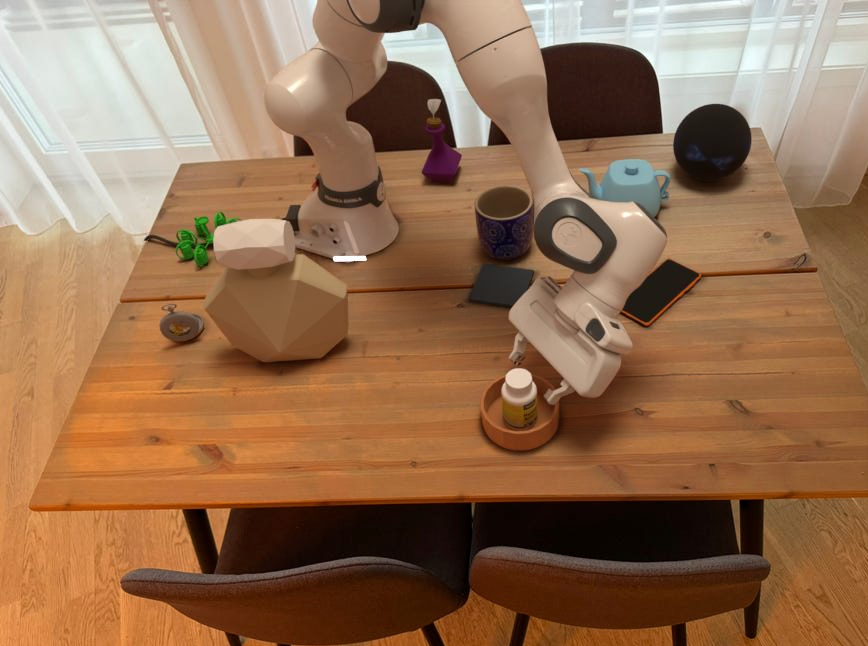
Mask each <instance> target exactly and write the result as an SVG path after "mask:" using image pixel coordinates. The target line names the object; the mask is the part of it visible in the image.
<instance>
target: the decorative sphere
mask: <svg viewBox="0 0 868 646" xmlns="http://www.w3.org/2000/svg"><path fill="white" fill-rule="evenodd" d="M752 140H753V138H752V130H751V126H750V124H749V122H748V120H747V119H746V117H745V116H744V115H743V114H742V113H741V112H740V111H739V110H737V109H736V108H735V107H732V106H730V105H728V104H723V103H708V104H704V105H702V106H699V107H697V108H695V109H693V110H691V111H690V112H689V113H688V114H686V115H685V116H684V118H683V119H682V120H681V121H680V123H679V125H678V126H677V128H676V130H675V133H674V135H673V141H672V142H673V144H672V149H673V156H674V158H675V161H676V162H677V165H678V166H679V168H680V169H681V170H682V172H684V173H685V174H686V175H687V176H689V177H690V178H693V179H695V180H699V181H702V182H715V181H720V180H724V179H727V178H728V177H730V176H731V175H733V174H735V173H736V172H737V171H738V170H739V169H740V168H741V167H742V166H743V164H745V162H746V160H747V158H748V156H749V154H750V151H751V147H752V142H753V141H752Z"/></svg>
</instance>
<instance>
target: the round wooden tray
mask: <svg viewBox="0 0 868 646" xmlns="http://www.w3.org/2000/svg"><path fill="white" fill-rule="evenodd" d="M530 374H531V375H532V381H533V382H534V383H535V385H536V388H537V420H536V422H535V424H534V425H533V426H532V427H530V428H529V429H526V430H514V429H511V428H510V427H508V426H507V425H506V424H505V422H504V419H503V409H502V395H501V390H502V386H503V384H504V383H505V377H506V375H507V373H506V374H504V375H500V376H499V377H497V378H496V379H493V380H492V381H491V382H490V383H489V384H488V385H487V386H486V387H485V389H484V390H483V392H482V395H481V397H480V413H481V422H482V426H483V429H484V433H485V434H486V435H487V437H488V439H490V440H491V441H492V442H493V443H494V444H496V445H497V446H499V447H501V448H504V449H506V450H510V451H518V452H519V451H520V452H521V451H530V450H534V449H536V448H539V447H541V446H543V445H545V444H546V443H547V442H549V441H550V440H551V439H552V438H553V436H555V433H556V432H557V431H558V427H559V422H560V399H559V400H558V402H557V403H556V404H554V405H552V404H549V403H548V402H547V401H546V400H545V399H544V397H543V396H544V394H546V392H547V391H548V389H549V388H550V389H554V390H556V389H555V388H556V387H555V386H554V385H553V384H552V383H550V382H549V381H548V380H547V379H546V378H545V377H542V376H540V375H537V374H535V373H531V372H530Z"/></svg>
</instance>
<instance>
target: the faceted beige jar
mask: <svg viewBox="0 0 868 646" xmlns="http://www.w3.org/2000/svg"><path fill="white" fill-rule="evenodd" d="M215 229H216V230H215ZM215 229H214V231H215V232H214V231H213V233H214V239H213V253H214V256H215V259H216V262H217V263H218V265H219V267H221V268H224V269H223V271H222V272H221V274H220V275H219V276H218V278H217V280H216V281H215V282H214V283H213V285H212V286H211V288H210V290H209V291H208V293H207V294H206V296H205V298H204V301H203V304H202V307H203V309H204V311H205V312H206V314H207V315H208V316H209V317H210V318H211V320H212V321H213V322H214V324H215V325H216V327H217V328H218V329H219V330H220V331H221V333H222V334H223V336H224V337H225V338H226V339H227V341H228V342H229V343H230V345H231V346H232V347H234V348H236V349H238V350H240V351H242V352H243V353H246V354H247V355H249V356H251V357H253V358H255V359H256V360H258V361H260V362H262V363H274V362H286V361H288V362H289V361H301V360H313V359H314V360H315V359H322V358H323V357H324V356H326V355H327V354H328V353H329V352H330V351H332V349H333V348H334V347H336V346H337V345H338V344H339V343H340V342H341V341H342V340H343V339H344V338H345V337H346V336H347V335H348V333H349V300H348V297H349V296H348V284H347V283H345V282H344V281H342V280H341V279H339V278H337V277H336V276H334V275H333V274H332V273H330V272H329V271H328V270H326V269H325V268H323V267H322V266H321V265H319V264H318V263H316V262H315V261H314V260H312V259H311V258H310V257H308V256H307V255H306V254H304V253H301V254H300V253H299V254H296V247H295V237H294V233H293V228H292V226H291V224H290V222H289V221H286V220H281V219H279V218H278V219H277V218H249V219H243V220H242V221H240V220H238V221H237V222H234V223H230V224H226V225H222V226H218V227H217V228H215Z"/></svg>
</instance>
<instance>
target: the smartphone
mask: <svg viewBox="0 0 868 646" xmlns="http://www.w3.org/2000/svg"><path fill="white" fill-rule="evenodd" d="M701 278H702V274H701V273H699V272H697V271H696V270H694V269H691V268H690V267H687V266H686V265H684V264H682V263H679V262H678V261H675V260H674V259H671V258H666V259H665V260H664V261H663V262H661V263H660V264H659V265H658V266H656V268H654V269H653V270H651V272H650V273H649V275H648V276H647V277H646V279H645V280H644V281H643V283H642V284H641V285H640V286H639V287H638V288H637V289H635V290H634V291H633V292H632V293H631V294H630V295H629V297H628V298H627V300H626V303H625V305H624V307H623V309H622V310H621V312H620V313H621V314H622V315H624V316H626V317H628V318H630V319H631V320H634V321H635V322H637V323H639V324H641V325H643V326H645V327H647V326H650V325H651V324H652V323H653V322H654V321H655V320H656V319H658V317H660V316H661V315H662V314H663V313H664V312H665V311H666V310H667V309H668V308H669V307H670V306H672V305H673V304H674V303H675V302H676V301H677V300H678V299H679V298H680V299H681V297H682V296H683V295H684V293H685V292H687V291H688V290H690V289H691V288H692V287H693V286H694V285H695V284H696V282H698V280H700V279H701Z"/></svg>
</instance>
